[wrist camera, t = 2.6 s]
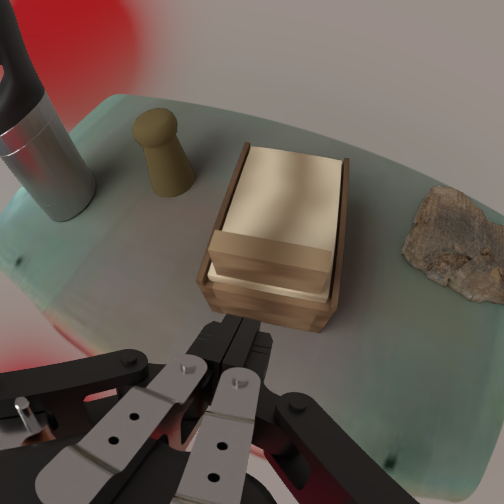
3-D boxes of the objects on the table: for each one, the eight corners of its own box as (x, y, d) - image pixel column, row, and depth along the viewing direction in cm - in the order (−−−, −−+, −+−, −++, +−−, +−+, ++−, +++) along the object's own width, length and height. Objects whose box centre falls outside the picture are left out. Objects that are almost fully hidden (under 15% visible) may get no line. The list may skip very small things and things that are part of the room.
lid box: (212, 311, 30) (195, 280, 23) (248, 189, 38) (245, 142, 31) (319, 333, 29) (337, 308, 22) (336, 204, 36) (349, 158, 29)
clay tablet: (521, 254, 32) (423, 185, 38) (539, 239, 27) (436, 163, 33) (507, 336, 27) (393, 261, 33) (531, 326, 23) (409, 241, 28)
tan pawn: (198, 189, 38) (180, 123, 28) (153, 202, 38) (125, 140, 28) (191, 159, 41) (174, 95, 31) (150, 171, 40) (126, 110, 31)
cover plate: (209, 280, 24) (197, 250, 20) (251, 153, 31) (249, 116, 27) (325, 303, 23) (339, 277, 19) (340, 167, 30) (348, 131, 25)
